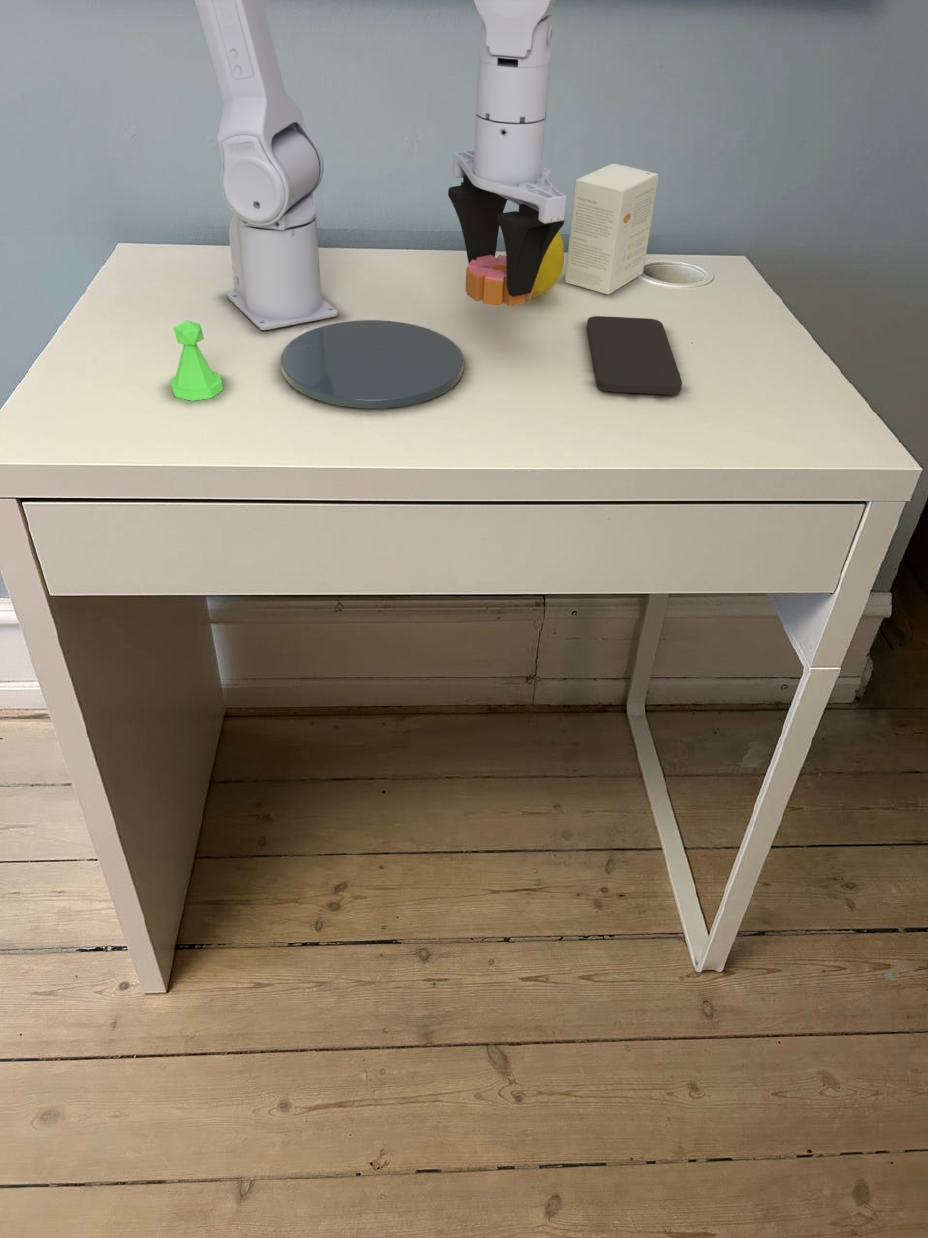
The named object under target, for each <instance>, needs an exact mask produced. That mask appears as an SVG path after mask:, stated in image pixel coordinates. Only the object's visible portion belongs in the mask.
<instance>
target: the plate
mask: <svg viewBox="0 0 928 1238" xmlns="http://www.w3.org/2000/svg"><path fill="white" fill-rule="evenodd" d="M464 360H465V359H464V355H463V353H462V350H461V349H460V348H459V346H458V345H457V344H456V343H455V342H453V341H452V340H451V339H450V338H448V337H447V336H445V335H443V334H441V333H439V332H437V331H434V330H432V329H430V328H427V327H424V326H420V325H416V324H412V323H407V322H401V321H392V320H381V319H380V320H379V319H372V320H371V319H363V320H362V319H361V320H350V321H342V322H336V323H330V324H327V325H322V326H320V327H316V328H313V329H310V330H308V331H306V332H304V333H302V334H299V335H298V336H297V337H295V338H294V339H292V340H291V341H290V342H289V343H288V344H287V345H286V346H285V347H284V349H283V351H282V353H281V357H280V366H281V367H280V368H281V373H282V375H283V378H284V379H285V380H286V382H287V383H288V384H289V385H290V386H291V387H292V388H294V389H295V390H296V391H298V392H299V393H301V394H302V395H305V396H307V397H309V398H311V399H314V400H317V401H320V402H323V403H327V404H331V405H336V406H341V407H348V408H354V409H355V408H356V409H357V408H358V409H389V408H399V407H405V406H406V407H407V406H411V405H415V404H420V403H424V402H426V401H429V400H432V399H435V398H437V397H439V396H441V395H443V394H445V393H446V392H448V391H449V390H451V389H453V387H455V386H456V385H457V383H459V381H460V379H461V377H462V376H463V374H464V363H465V362H464Z"/></svg>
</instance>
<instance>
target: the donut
mask: <svg viewBox="0 0 928 1238" xmlns="http://www.w3.org/2000/svg"><path fill="white" fill-rule="evenodd" d="M533 288H534V286H533ZM464 289H465V290H464V291H465V293H466V296H468V297H469V298H470V299H472V300H473V301H475V302H480V301H482V304H483V305H490V306H496V307H502V306H503V304H506V305H507V306H509V307H511V306H515V305H522V304H525V303H526V301H530V300H531V299H532V298H531V296H532V294H533V289H532V291H531V293H529V294H524V295H519V296H511V295H509V293H508V289H507V261H506V254H505V255H504V254H498V256H497V257H496V256H495V257H494V256H492V255H488V256H482V257H477V259H476V260H472V261H471V262H470V264H469V263H468V265H467V266H466V268H465V288H464Z"/></svg>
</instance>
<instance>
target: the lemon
mask: <svg viewBox="0 0 928 1238" xmlns="http://www.w3.org/2000/svg"><path fill="white" fill-rule="evenodd" d="M564 264H565V249H564V241H563V237H562V235H561V233H560V231H558V233H557V234H556V236H555V237H554V239H553V240H552V242H551V244H550V245H549V247H548V249H547V251H546V253H545V256H544V258H543V260H542V263H541V265H540V268H539V271H538V274H537V277H536V280H535V283H534V288H533V294H532V296H531V298H530V299H536V298H537V297H538V296H540V295H541V294H543V293H546V292H548V291H549V290H551V289H552V288H553V287H554V286H555V285H556V284H557V283H558V281H559V279H560V277H561V275H562V273H563V269H564Z"/></svg>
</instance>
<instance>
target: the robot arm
mask: <svg viewBox="0 0 928 1238" xmlns="http://www.w3.org/2000/svg"><path fill="white" fill-rule="evenodd" d="M556 1H557V0H473V3H474V6H475V8H476V10H477V13H478V15H479V16H480V18H481V20H480V21H481V23H480V45H479V49H478V56H477V57H478V58H477V76H476V77H477V80H476V81H477V82H476V103H475V104H476V105H475V123H474V124H475V125H474V130H475V131H474V149H473V150H472V149H469V150H462V151H455V152H453V157H452V158H453V159H452V176H454V177H455V178H458V179H462V181H461V182H460V185H454V186H450V187H449V188H448V190H447V191H448V192H447V194H448V198H449V200H450V202H451V204H452V206H453V208H454V211H455V213H456V216H457V218H458V221H459V224H460V229H461V231H462V236H463V241H464V245H465V252H466V256H467V257H466V258H467V261H468V262H467V263H468V265H469V264H470V262H471V261H472V260H476V259H477V257H482V256H488V255H492V256H494V257H496V254H497V246H498V238H499V231H500V230H501V233H502V238H503V242H504V249H505V256H506V261H507V289H508V293H509V295H511V296H519V295H524V294H529V293H531V291H532V289H533V286H534V283H535V280H536V277H537V274H538V271H539V268H540V265H541V263H542V260H543V258H544V256H545V253H546V251H547V249H548V247H549V245H550V244H551V242H552V240H553V239H554V237H555V236H556V234H557V233H558V232H560V230H561V229H562V227H563V226H564V225H565V218H566V209H567V198H568V196H567V195H566V194H563V193H562V192H561V191H559V190H558V189H557V188H556V187H555V186H554V185H553V184H552V183H551V181H550V178H551V173H552V171H551V169H549V168H547V167H545V166H543V157H544V156H543V155H544V144H545V132H546V119H547V111H548V110H547V109H548V98H549V87H550V74H551V65H552V63H551V61H552V52H551V41H552V37H553V26H552V25H553V14H547V13H549V11H550V10H551V9H552V7H553V6H555V4H556ZM194 4H195V8H196V11H197V14H198V15H197V16H198V19H199V21H200V22H199V23H200V25H201V28H202V33H203V35H204V36H203V37H204V39H205V43H206V47H207V50H208V54H209V58H210V61H211V64H212V68H213V72H214V75H215V79H216V82H217V85H218V89H219V94H220V96H221V97H220V98H221V99H222V104H223V108H222V113H221V117H220V122H219V126H218V130H217V134H216V135H217V136H216V142H217V145H218V149H219V154H220V159H221V167H220V172H219V173H220V174H219V185H220V191H221V193H222V197H223V199H224V201H225V203H226V205H227V206H228V208H229V209H230V210H231V212H232V213H233V215H232V218H231V220H230V223H229V226H228V228H229V229H228V239H229V240H228V241H229V246H230V256H231V267H232V272H233V281H234V289H231V290H228V291H226V293H225V294H226V295H225V296H226V297H227V298H228V299H229V301H231V302H232V303H233V304H234V305H235V306H236V307H237V308H238V309H239V311H241V312H242V313H243V314H244V315H245V316H246V317H247V318H248V319H249V320H250V321H251V322H252V323H253V324H254V325H255V326H256V327H257V328H258V329H259V330H261V331H269V330H274V329H279V328H284V327H290V326H294V325H299V324H305V323H310V322H315V321H319V320H325V319H330V318H331V319H332V318H335V317H338V315H339V312H338V310H337V309H336V308H335V307H333V306H332V305H331V304H330V303H329V302H328V301H326V300H325V299H324V298H323V297H322V289H321V288H322V287H321V272H320V271H321V270H320V253H319V235H318V217H317V208H316V205H315V203H314V192H315V191H316V190H317V189H318V187H320V184H321V182H322V180H323V177H324V168H325V167H324V158H323V155H322V152H321V149H320V147H319V145H318V144H317V142H316V140H315V139H314V138H313V136H312V135H311V134H310V132H309V130H308V128H307V126H306V124H305V120H304V117H303V111H302V109H301V108H300V106H299V105H298V104H297V102H296V101H295V100H294V99H293V98H292V96H290V95H289V93H288V92H287V91H286V89H285V85H284V81H283V77H282V74H281V69H280V65H279V61H278V57H277V56H278V55H277V53H276V48H275V44H274V41H273V37H272V33H271V28H270V24H269V20H268V15H267V12H266V7H265V4H264V0H194ZM546 14H547V15H546ZM545 15H546V16H545ZM508 201H510V202H511V203H513V204H516V205H517V206H518V210H513V211H506V212H504V211H505V208H506V205H507V202H508Z"/></svg>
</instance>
